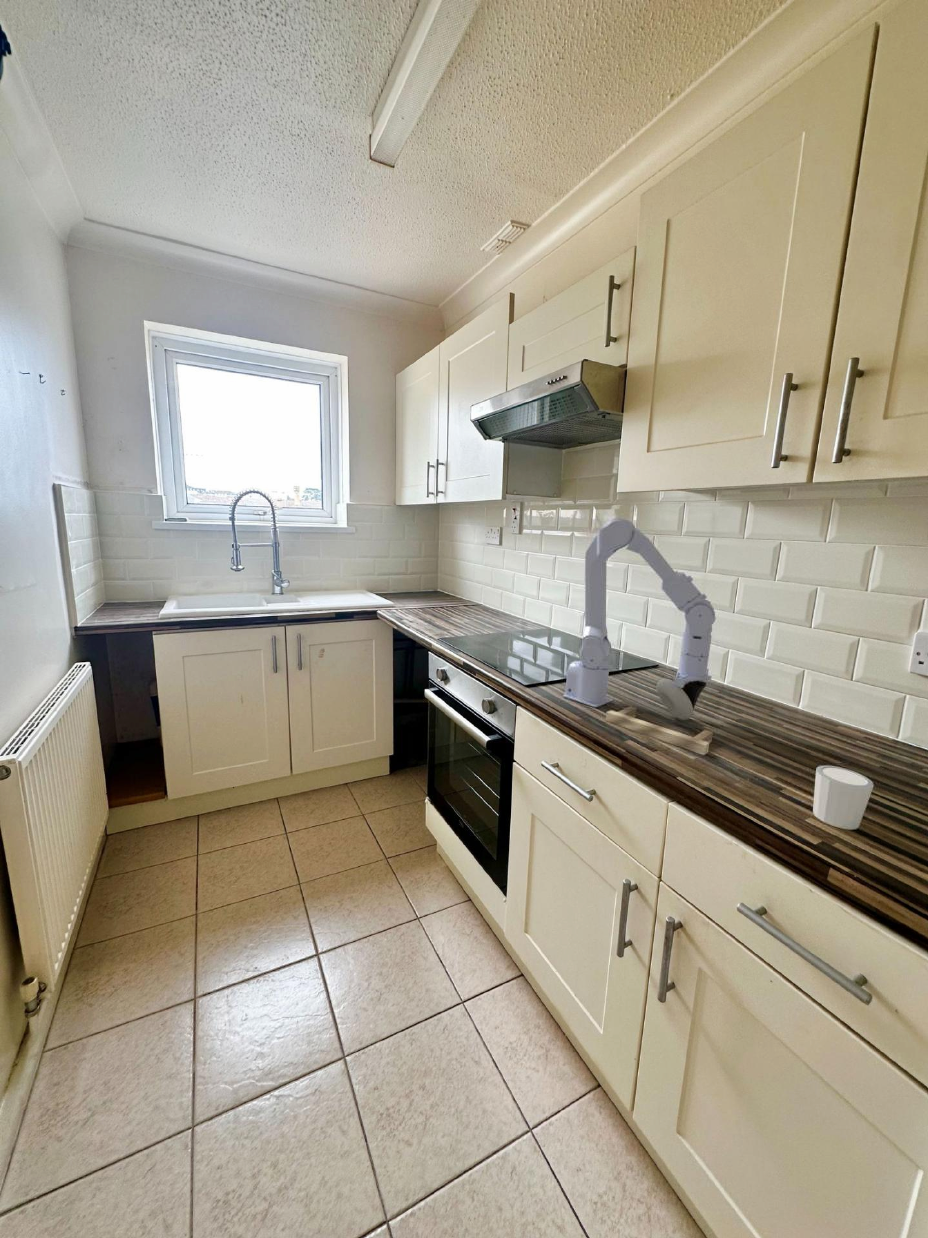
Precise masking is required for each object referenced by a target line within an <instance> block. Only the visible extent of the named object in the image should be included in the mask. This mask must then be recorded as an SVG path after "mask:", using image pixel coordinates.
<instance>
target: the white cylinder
mask: <svg viewBox="0 0 928 1238" xmlns="http://www.w3.org/2000/svg"><path fill="white" fill-rule="evenodd" d="M874 787H875V785H874V783H873V781H872V780H871V779H870V778H868V777H867V776H865V775H863V774H860V773H859V772H856V771H854V770H851V769H848V768H844V767H840V766H836V765H835V766H834V765H819V766H818V767H816V770H815V781H814V792H813V805H812V806H813V808H812V811H813V812H812V813H813V815H814V816H815V817H816V818H817V819H818V820H820V821H822V822H823V823H825V824H828V825H830V826H832V827H836V828H839V829H843V830H849V831H850V830H857V829H858V828H859V827H860V825H861V822H862V818H863V817H864V814H865V810H866V808H867V806H868V803H869V800H870V798H871V794H872V792H873V788H874Z"/></svg>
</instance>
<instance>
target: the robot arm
mask: <svg viewBox="0 0 928 1238" xmlns="http://www.w3.org/2000/svg"><path fill="white" fill-rule="evenodd" d="M626 546H627V547H626ZM624 547H626V550H628V551H630V552H633V553H636V554H638V555H640V556H641V558H642V559H643V560H644V562H646V563H647V565H649V567H650V568H651V569H652V570H653V571H654V572H655V573H656V574H657V576H658V577H659V579H661V580H662V584H661V590H662V591H663V592H664V594H665V595H666V596H667V597H668V598H669V599H670V601H671V602H672V603H673V604H674V605H675V607H676V608H677V609H678V611H680V612H683V613H684V619H685V629H684V631H683V633H682V641H681V650H680V655H679V663H678V670H677V671H676V675H675V677H674V678H673V682H674V683H673V684H674V685H675V686H677V687H680V688H682V690H683V691H684V692H685V693H686V695H687V696H688V698H689V699H690V701H691V704H692V707H693V710H694V709H695V707H696V704H697V701H698V698H699V697H700V695H701V694H702V692H703V691H704V689H705V687H707V682H704V681H711V680H712V679H713V678H712V675H709V669H710V668H708V664H709V658H710V657H709V656H710V649H711V643H712V631H713V627H712V626H713V625H714V623H715V621H716V619H717V617H716V611H715V610H714V607H713V605H712V604H711V601H709V600H708V599H707V598H708V596H707V595H706V594H705V593H703V594H702V593H701V592H700V590H699V589H698V587H697V586H695V585H694V583H693V582H692V581H694V578H693V577H692V576H691V575H689V574H688V575H686V573H684V572H681V571H680V572H679V571H675V570H674V568H672V566H671V565H670V564H669V563H668V561H667V560H666V559H665V557H664V556H663V555H662V553H661V552H660V551H659V550H658V548H657V547H656V546H655V545H654V543H653V542H652V541H651V540H650V538H649V537H648V536H646V535H645V534H644V533H643V532H642V530H640V529H638V528H636V527H635V525H634V523H633V522H632V521H630V520H628V519H625V518H620V517H616V518H612V519H611V520H609V521H607V522H606V523H604V524H603V525H602V526H601V527H600V528H599V529H598V531H597V534H596V535H595V536H594V538H593V540H592V541H591V542H590V544H589V546H588V547H587V549H586V551H585V556H584V558H585V559H584V560H585V561H584V564H585V566H584V567H585V569H584V570H585V572H584V574H585V580H584V581H585V582H584V583H585V584H584V585H585V586H584V587H585V591H584V592H585V593H584V596H585V597H584V599H585V600H584V601H585V608H584V611H585V612H584V613H585V614H584V618H585V619H584V620H585V622H584V625H585V626H584V632H583V635H582V643H581V644H582V645H581V646H580V648H579V650H578V657H579V660H573V661H572V662H571V663H569V666H568V667H567V671H566V682H565V692H564V694H563V698H566V699H569V700H572V701H574V702H579V703H581V704H584V705H587V706H590V707H592V708H598V707H600V706H603V705H605V704H609V703H611V702H613V700H614V699H613V698H611V697H609V696H607V690H608V683H609V682H608V681H609V674H610V673H609V670H610V664H609V662H608V660H607V658H608V657H609V656H610V654H611V653H612V644H611V642H610V640H609V637H608V628H607V561H608V560H609V558H611V557H612V556H613V555H614V554H615V553H616V552H617V551H619V550H620V549H622V548H624Z"/></svg>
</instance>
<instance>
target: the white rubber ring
mask: <svg viewBox="0 0 928 1238" xmlns="http://www.w3.org/2000/svg"><path fill="white" fill-rule="evenodd" d="M673 683H674V680H672V679H668V678H664V679H663V678H662V679H660V680H659V681H658V682H657V684H656V693H657V695H658V698H659V700H660V701H661V703H662V705H664V707H665V708H666V710H668V711H669V713H670V714H671V715H672V716H674V717H676V718H677V719H678V720H683V721H687V720H689V719H691V717H692V716H693V715H694V709H693V707H692V704H691V701H690V699H689V698H688V696H687V695H686V693H685V692H684V691H683V690H682V688H680V687H677V686H675V685H674V684H673Z"/></svg>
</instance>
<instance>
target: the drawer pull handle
mask: <svg viewBox="0 0 928 1238" xmlns="http://www.w3.org/2000/svg"><path fill="white" fill-rule="evenodd" d="M636 715H637V707H635V706H628V707H625V708H623V709H622V710H619V711H616V710H611V709H610V710H608V711H606V713H605V721H606V722H608V723H610V724H614V725H617V726H619V727H623V728H626V729H628V730H630V731H634V732H637V733H640V734H642V735H645V736H647V737H651V738H654V739H657V740H659V741H663V742H665V743H668V744H671V745H674V746H677V747H680V748H682V749H685V750H688V751H690V752H693V753H697V754H699V755H702V756H705V755H706V754H708V753H709V747H710V743H712V741H713V734H714V733H713V732H714V731H710V730H707V729H705V730H702V731H701V732H700V733H697V734H696V735H695V736H694V737H693V736H690V735H687V734H684V733H681V732H678V731H675V730H673V729H669V728H666V727H662V726H660V725H657V724H654V723H651V722H648V721H645V720H642V719H639V718H636V717H637V716H636Z"/></svg>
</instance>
